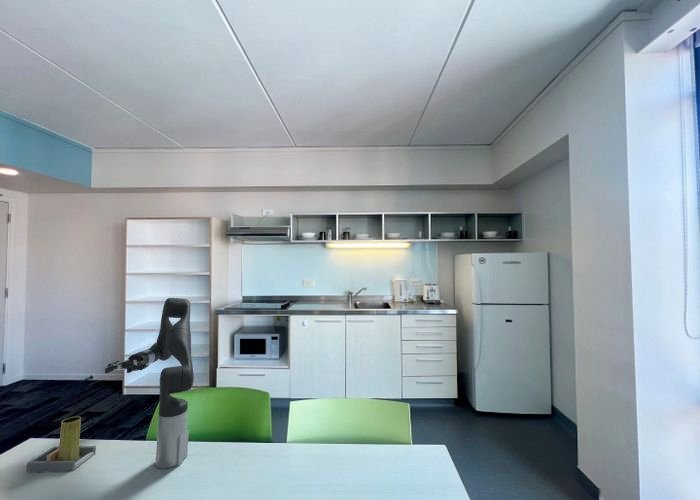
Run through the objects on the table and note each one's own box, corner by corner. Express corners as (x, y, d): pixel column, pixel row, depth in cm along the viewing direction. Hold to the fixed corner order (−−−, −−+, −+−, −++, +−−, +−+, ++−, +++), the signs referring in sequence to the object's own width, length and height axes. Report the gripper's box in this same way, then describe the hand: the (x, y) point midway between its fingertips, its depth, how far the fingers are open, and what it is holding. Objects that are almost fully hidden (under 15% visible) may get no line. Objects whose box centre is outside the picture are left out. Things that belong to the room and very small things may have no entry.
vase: (83, 456, 111) (87, 416, 112) (66, 467, 105) (70, 424, 106) (69, 455, 111) (72, 415, 113) (51, 465, 105) (54, 423, 107)
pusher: (67, 455, 111) (68, 444, 112) (49, 467, 104) (50, 455, 105) (64, 455, 111) (65, 444, 112) (45, 467, 104) (46, 455, 104)
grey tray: (95, 454, 113) (96, 445, 113) (72, 471, 103) (73, 462, 103) (53, 454, 112) (54, 446, 113) (26, 472, 102) (27, 463, 103)
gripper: (126, 351, 140) (99, 361, 124) (157, 351, 141) (135, 361, 125) (124, 368, 139) (97, 380, 123) (156, 368, 140) (134, 379, 124)
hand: (116, 370), depth 124 cm, fingers open, 8 cm apart
